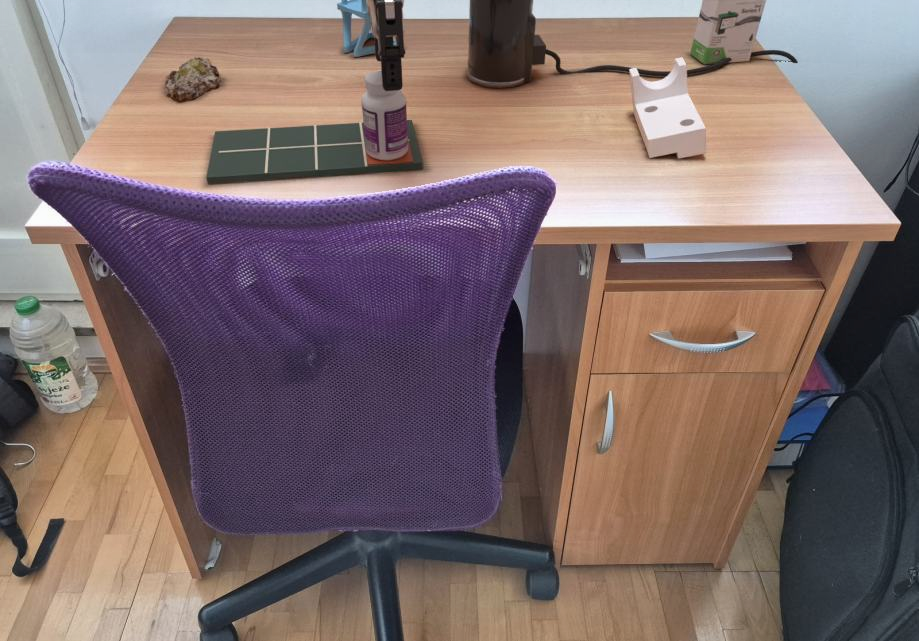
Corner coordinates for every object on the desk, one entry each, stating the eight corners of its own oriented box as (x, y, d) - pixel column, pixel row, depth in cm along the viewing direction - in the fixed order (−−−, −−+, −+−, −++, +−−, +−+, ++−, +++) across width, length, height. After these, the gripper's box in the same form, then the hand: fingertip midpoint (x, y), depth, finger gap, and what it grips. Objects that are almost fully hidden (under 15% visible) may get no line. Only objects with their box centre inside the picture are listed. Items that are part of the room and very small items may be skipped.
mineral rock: (171, 56, 110) (218, 44, 108) (186, 82, 113) (231, 71, 111) (143, 87, 103) (192, 75, 101) (159, 115, 105) (208, 104, 103)
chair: (333, 48, 120) (326, -29, 112) (371, 36, 124) (366, -40, 117) (365, 61, 116) (359, -18, 108) (402, 47, 121) (399, -30, 113)
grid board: (412, 126, 99) (412, 118, 98) (423, 169, 90) (423, 161, 90) (216, 138, 96) (214, 129, 95) (207, 184, 87) (205, 175, 86)
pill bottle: (408, 141, 93) (406, 67, 87) (407, 161, 89) (405, 86, 83) (366, 141, 93) (361, 67, 87) (363, 161, 89) (357, 86, 83)
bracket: (634, 119, 104) (629, 69, 99) (684, 108, 103) (682, 57, 98) (650, 164, 94) (645, 110, 89) (706, 153, 93) (704, 98, 88)
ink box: (702, 65, 117) (721, -12, 109) (688, 53, 121) (705, -22, 113) (751, 61, 119) (772, -15, 111) (735, 50, 122) (755, -25, 114)
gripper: (425, -64, 69) (429, 98, 80) (406, -99, 79) (412, 48, 90) (346, -61, 68) (361, 103, 79) (337, -96, 78) (352, 52, 89)
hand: (388, 74), depth 85 cm, fingers open, 8 cm apart
